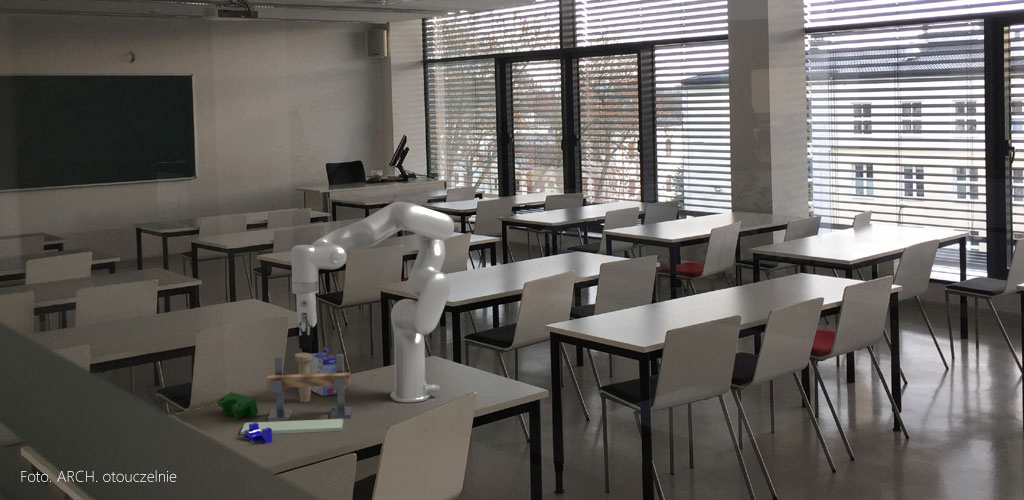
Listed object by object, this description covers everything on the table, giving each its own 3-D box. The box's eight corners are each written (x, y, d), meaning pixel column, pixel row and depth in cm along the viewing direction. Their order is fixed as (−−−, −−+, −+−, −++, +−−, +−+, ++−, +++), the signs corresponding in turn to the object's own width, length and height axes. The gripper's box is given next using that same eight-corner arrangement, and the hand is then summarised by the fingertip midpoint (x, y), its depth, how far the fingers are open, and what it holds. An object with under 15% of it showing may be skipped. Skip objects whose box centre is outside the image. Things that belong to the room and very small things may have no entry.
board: (343, 422, 277) (343, 418, 277) (341, 430, 269) (341, 427, 269) (245, 426, 273) (245, 422, 273) (240, 435, 265) (240, 431, 265)
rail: (350, 382, 282) (350, 372, 282) (349, 385, 279) (349, 375, 279) (268, 385, 280) (267, 375, 279) (266, 388, 277) (266, 378, 276)
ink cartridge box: (338, 393, 306) (337, 350, 304) (323, 396, 302) (321, 352, 300) (324, 387, 313) (323, 344, 311) (309, 390, 310) (307, 347, 308)
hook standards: (351, 410, 288) (350, 352, 286) (350, 419, 279) (348, 360, 277) (271, 413, 285) (269, 355, 283) (267, 422, 276) (265, 362, 274)
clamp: (226, 428, 285) (212, 402, 284) (242, 419, 289) (228, 393, 289) (246, 421, 277) (231, 394, 276) (262, 412, 281) (247, 385, 281)
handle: (303, 405, 293) (301, 358, 291) (293, 400, 298) (291, 354, 296) (317, 402, 296) (315, 355, 294) (307, 397, 301) (305, 351, 299)
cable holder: (244, 439, 263) (244, 425, 262) (255, 436, 265) (255, 422, 265) (261, 445, 257) (260, 431, 257) (272, 442, 260) (271, 428, 259)
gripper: (316, 292, 267) (317, 351, 270) (320, 282, 284) (321, 338, 287) (289, 292, 266) (290, 351, 269) (295, 282, 283) (296, 338, 286)
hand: (306, 344), depth 278 cm, fingers open, 9 cm apart
